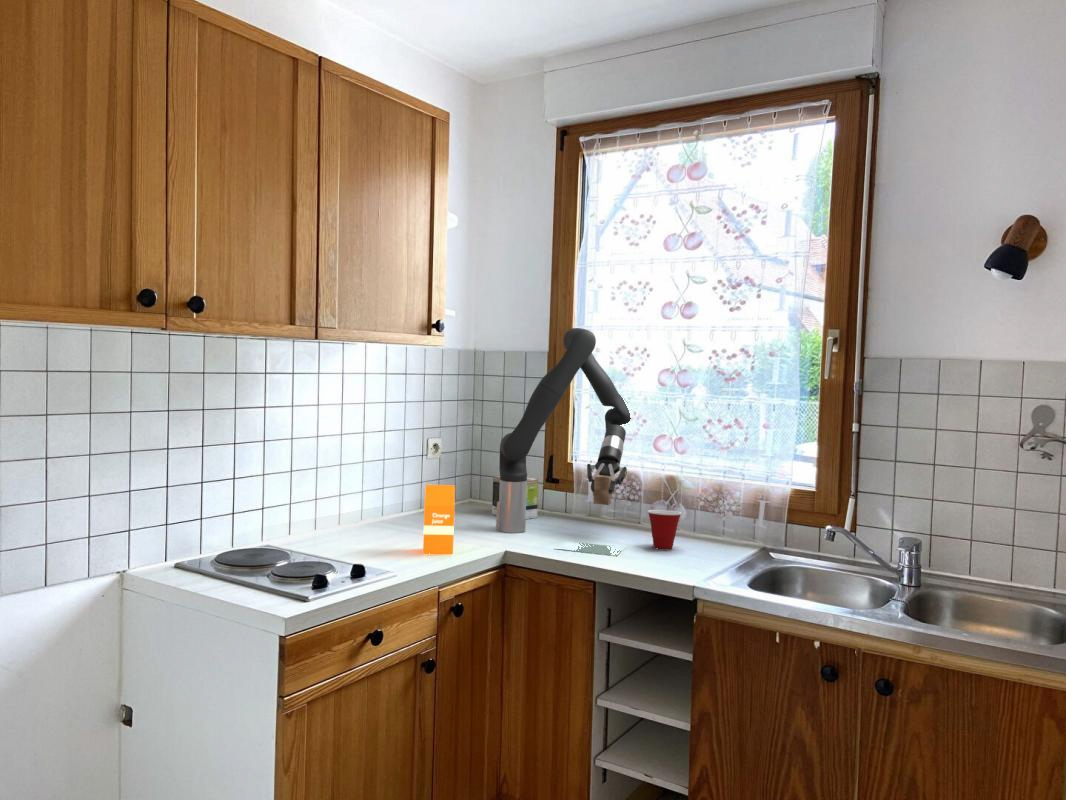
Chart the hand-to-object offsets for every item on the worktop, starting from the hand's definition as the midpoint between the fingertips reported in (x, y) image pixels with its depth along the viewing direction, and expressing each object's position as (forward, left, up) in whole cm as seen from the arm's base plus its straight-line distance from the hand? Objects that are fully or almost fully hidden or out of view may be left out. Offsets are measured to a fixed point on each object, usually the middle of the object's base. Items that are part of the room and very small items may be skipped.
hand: (601, 491), depth 257 cm
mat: (0, -14, -16) cm, 21 cm away
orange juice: (-40, -39, -16) cm, 58 cm away
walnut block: (0, +2, -4) cm, 5 cm away
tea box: (-39, +25, -16) cm, 49 cm away
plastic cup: (+21, -2, -16) cm, 27 cm away
